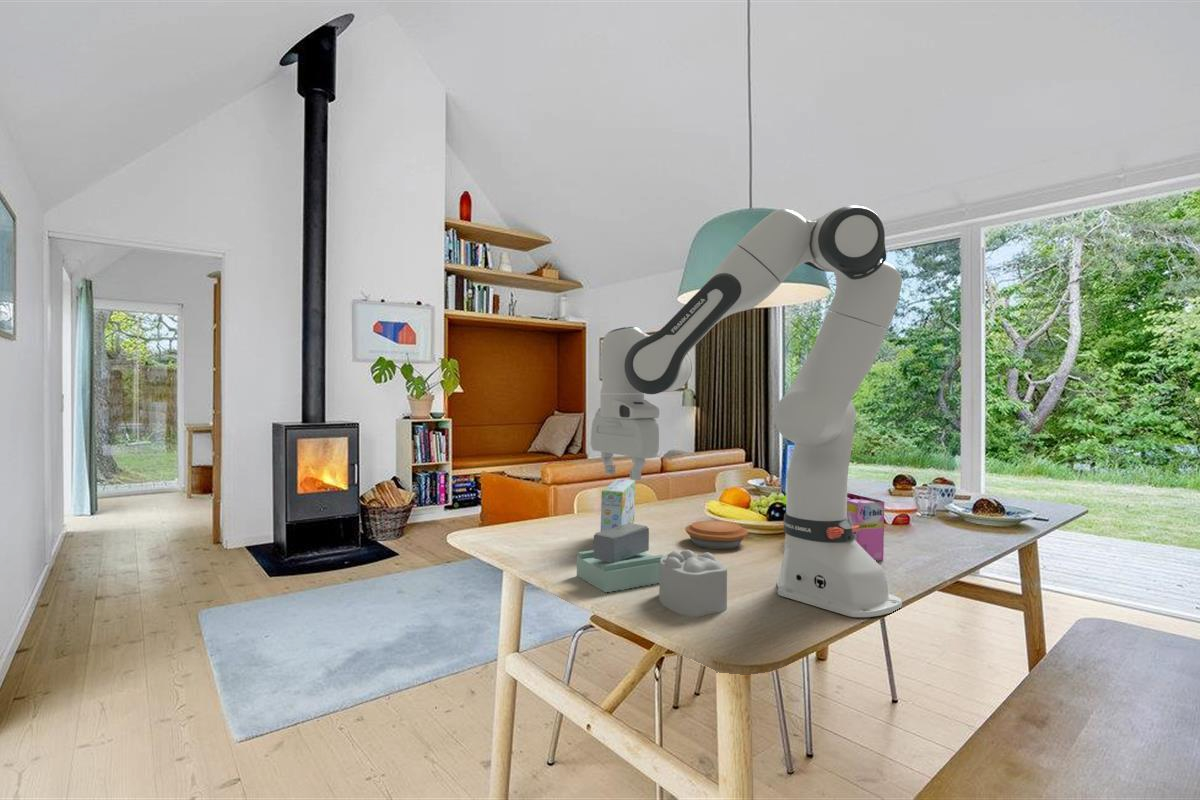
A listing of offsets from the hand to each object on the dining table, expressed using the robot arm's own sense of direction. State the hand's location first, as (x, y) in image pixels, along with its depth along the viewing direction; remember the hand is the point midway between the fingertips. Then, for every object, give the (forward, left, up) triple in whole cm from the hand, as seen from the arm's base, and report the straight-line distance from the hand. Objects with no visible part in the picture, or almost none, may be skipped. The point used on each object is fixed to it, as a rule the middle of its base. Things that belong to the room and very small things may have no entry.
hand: (622, 476), depth 120 cm
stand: (0, 0, -21) cm, 21 cm away
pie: (+13, -36, -21) cm, 44 cm away
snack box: (+24, -14, -21) cm, 35 cm away
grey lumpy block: (-17, -4, -21) cm, 27 cm away
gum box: (-5, -59, -21) cm, 62 cm away
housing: (0, 0, -16) cm, 16 cm away
